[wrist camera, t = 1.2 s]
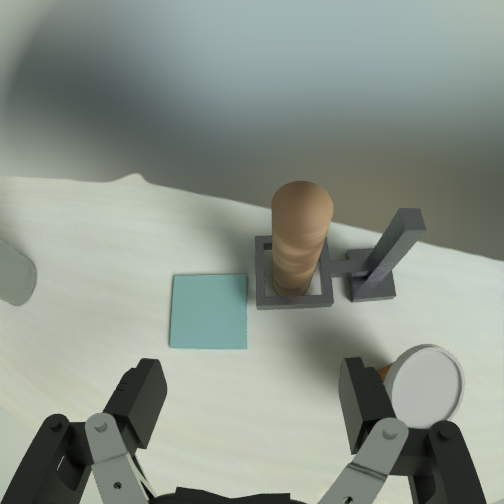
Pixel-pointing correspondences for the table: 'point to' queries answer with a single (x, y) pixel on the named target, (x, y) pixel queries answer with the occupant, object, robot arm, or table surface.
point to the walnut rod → (298, 234)
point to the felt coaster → (209, 312)
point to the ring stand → (350, 266)
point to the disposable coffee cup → (424, 385)
